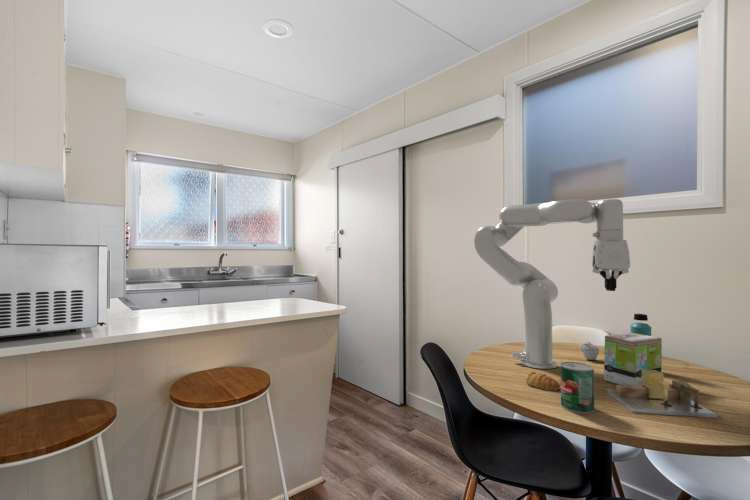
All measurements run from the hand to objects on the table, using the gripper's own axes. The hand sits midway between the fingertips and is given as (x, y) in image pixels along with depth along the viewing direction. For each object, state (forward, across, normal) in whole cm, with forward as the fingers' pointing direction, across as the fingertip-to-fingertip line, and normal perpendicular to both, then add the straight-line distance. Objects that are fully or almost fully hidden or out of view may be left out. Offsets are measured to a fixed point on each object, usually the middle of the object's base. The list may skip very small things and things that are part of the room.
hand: (610, 290), depth 124 cm
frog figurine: (+29, +2, +23) cm, 37 cm away
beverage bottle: (+29, +15, +12) cm, 35 cm away
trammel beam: (+28, +2, -22) cm, 36 cm away
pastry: (+30, -25, -12) cm, 41 cm away
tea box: (+29, +5, -3) cm, 30 cm away
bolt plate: (+29, +2, -23) cm, 37 cm away
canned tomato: (+29, -21, -29) cm, 46 cm away
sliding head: (+28, +2, -22) cm, 36 cm away
